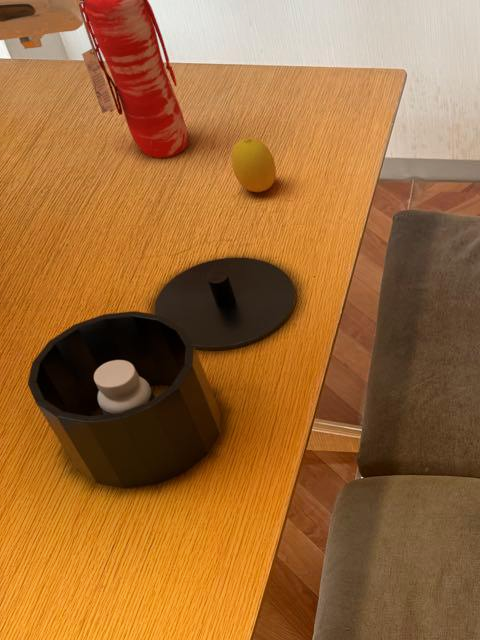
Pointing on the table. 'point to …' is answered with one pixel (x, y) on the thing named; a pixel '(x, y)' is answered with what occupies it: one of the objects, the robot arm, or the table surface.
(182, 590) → the table surface
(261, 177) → the lemon
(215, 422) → the trash can
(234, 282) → the bin lid
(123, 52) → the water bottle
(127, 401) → the pill bottle
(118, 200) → the table surface
